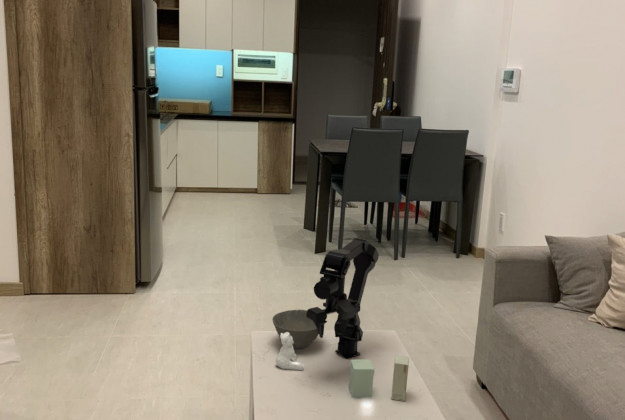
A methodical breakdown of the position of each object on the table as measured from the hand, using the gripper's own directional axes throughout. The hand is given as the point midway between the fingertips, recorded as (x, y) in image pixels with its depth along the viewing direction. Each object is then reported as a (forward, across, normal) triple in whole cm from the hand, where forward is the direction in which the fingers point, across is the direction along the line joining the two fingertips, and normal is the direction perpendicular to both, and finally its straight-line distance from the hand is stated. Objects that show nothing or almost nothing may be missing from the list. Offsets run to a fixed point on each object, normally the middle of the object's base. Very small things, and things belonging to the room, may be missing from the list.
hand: (332, 334), depth 204 cm
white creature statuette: (+13, -10, +10) cm, 19 cm away
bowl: (+13, +2, +21) cm, 25 cm away
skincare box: (+13, +8, -24) cm, 29 cm away
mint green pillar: (+13, -1, -16) cm, 21 cm away
